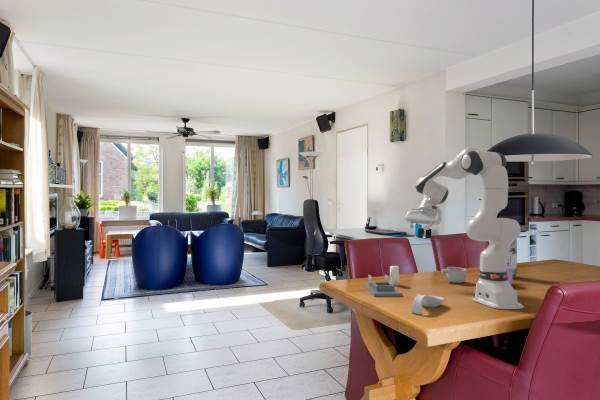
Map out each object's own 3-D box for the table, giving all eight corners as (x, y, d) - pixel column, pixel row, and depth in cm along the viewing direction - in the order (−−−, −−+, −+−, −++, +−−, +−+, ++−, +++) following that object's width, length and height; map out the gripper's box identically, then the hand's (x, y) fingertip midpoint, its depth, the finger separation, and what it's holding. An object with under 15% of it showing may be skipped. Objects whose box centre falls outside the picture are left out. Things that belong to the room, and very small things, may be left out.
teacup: (463, 280, 239) (463, 266, 239) (468, 284, 228) (469, 270, 228) (438, 279, 240) (438, 266, 240) (443, 283, 229) (443, 269, 229)
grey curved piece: (422, 301, 192) (422, 285, 192) (447, 305, 185) (447, 289, 185) (403, 312, 173) (403, 295, 172) (431, 317, 166) (431, 299, 166)
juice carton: (500, 278, 246) (501, 233, 246) (498, 275, 256) (498, 232, 256) (517, 279, 243) (517, 234, 243) (514, 276, 253) (514, 232, 253)
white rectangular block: (399, 285, 225) (400, 267, 225) (391, 285, 224) (391, 267, 224) (397, 283, 229) (397, 265, 229) (388, 283, 229) (388, 265, 229)
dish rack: (402, 296, 200) (402, 283, 200) (374, 296, 199) (374, 283, 199) (388, 285, 224) (388, 273, 224) (363, 285, 223) (363, 274, 223)
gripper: (408, 205, 242) (400, 223, 235) (442, 207, 228) (434, 226, 222) (411, 212, 245) (403, 230, 239) (444, 214, 232) (437, 233, 225)
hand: (418, 228), depth 230 cm, fingers open, 8 cm apart
